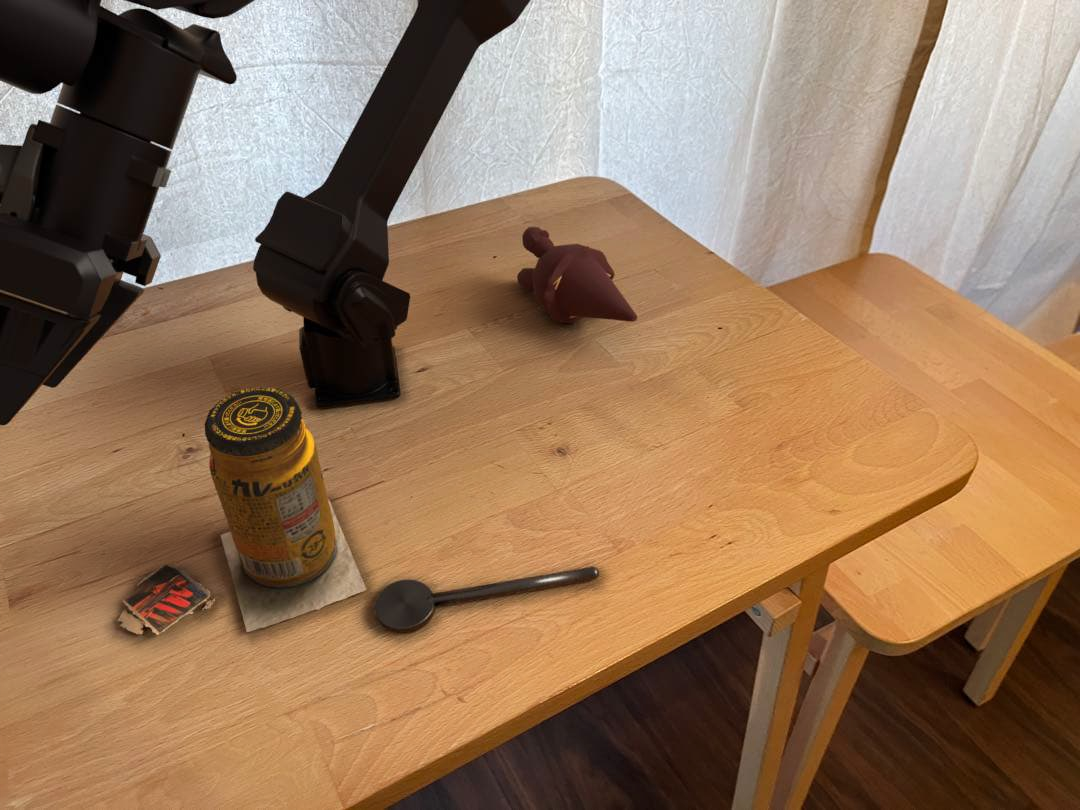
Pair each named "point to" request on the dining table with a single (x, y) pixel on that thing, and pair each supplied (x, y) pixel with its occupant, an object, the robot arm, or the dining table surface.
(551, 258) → the brown gnome figurine
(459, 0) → the robot arm
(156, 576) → the torn cardboard piece
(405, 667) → the dining table surface
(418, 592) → the steel spoon
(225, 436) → the condiment
